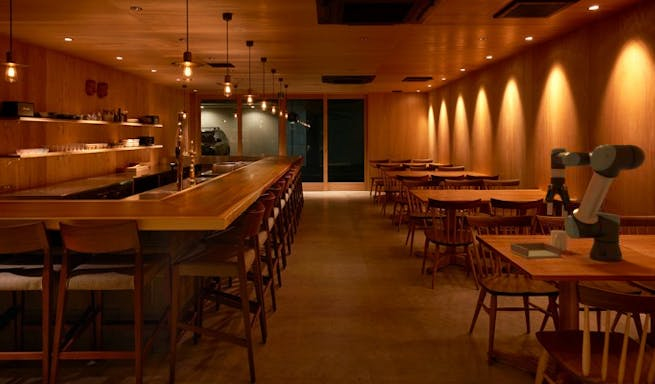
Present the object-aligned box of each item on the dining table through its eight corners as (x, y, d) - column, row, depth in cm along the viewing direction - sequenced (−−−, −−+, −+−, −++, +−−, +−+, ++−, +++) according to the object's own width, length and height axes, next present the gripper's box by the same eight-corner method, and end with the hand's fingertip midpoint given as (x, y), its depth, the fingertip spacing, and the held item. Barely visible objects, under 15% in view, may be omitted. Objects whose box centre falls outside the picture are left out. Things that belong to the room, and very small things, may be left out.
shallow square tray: (561, 257, 296) (561, 248, 296) (526, 258, 293) (526, 249, 293) (543, 250, 314) (543, 242, 313) (510, 251, 311) (510, 243, 311)
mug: (562, 253, 307) (563, 233, 306) (546, 251, 312) (547, 232, 311) (568, 249, 316) (569, 231, 315) (553, 248, 321) (553, 229, 320)
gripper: (578, 177, 301) (577, 218, 302) (550, 175, 325) (549, 213, 327) (565, 177, 300) (564, 218, 301) (538, 176, 324) (537, 213, 325)
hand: (557, 215), depth 314 cm, fingers open, 13 cm apart
